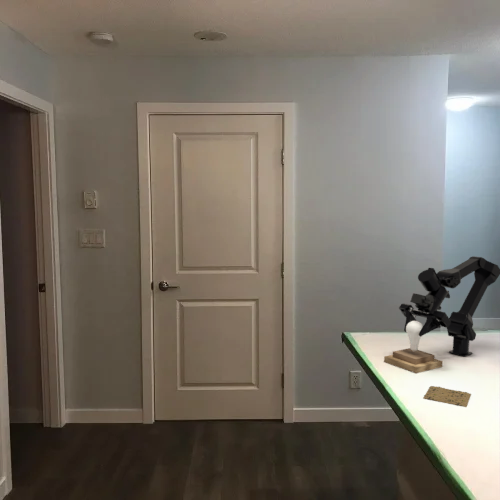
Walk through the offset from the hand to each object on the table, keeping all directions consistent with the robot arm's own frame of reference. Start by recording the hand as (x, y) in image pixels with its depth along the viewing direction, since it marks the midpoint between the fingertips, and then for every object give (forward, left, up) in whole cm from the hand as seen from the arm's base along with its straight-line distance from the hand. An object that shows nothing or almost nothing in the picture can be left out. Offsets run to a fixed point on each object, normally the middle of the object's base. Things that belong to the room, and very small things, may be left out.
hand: (412, 333), depth 177 cm
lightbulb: (-1, 0, -7) cm, 7 cm away
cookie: (+18, +23, -12) cm, 31 cm away
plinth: (-1, 0, -11) cm, 11 cm away
